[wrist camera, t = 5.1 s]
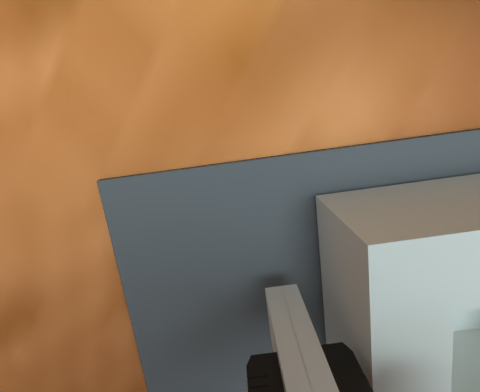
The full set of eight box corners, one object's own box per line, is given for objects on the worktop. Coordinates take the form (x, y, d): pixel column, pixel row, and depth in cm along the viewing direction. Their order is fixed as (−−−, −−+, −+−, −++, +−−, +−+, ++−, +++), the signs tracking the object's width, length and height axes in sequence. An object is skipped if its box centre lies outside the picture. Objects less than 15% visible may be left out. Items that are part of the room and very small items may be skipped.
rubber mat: (152, 398, 19) (151, 404, 19) (100, 179, 16) (96, 181, 16) (602, 335, 19) (610, 340, 19) (642, 106, 16) (652, 106, 16)
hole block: (328, 370, 18) (376, 492, 12) (315, 195, 16) (367, 245, 10) (508, 345, 18) (638, 454, 12) (523, 167, 16) (697, 200, 10)
